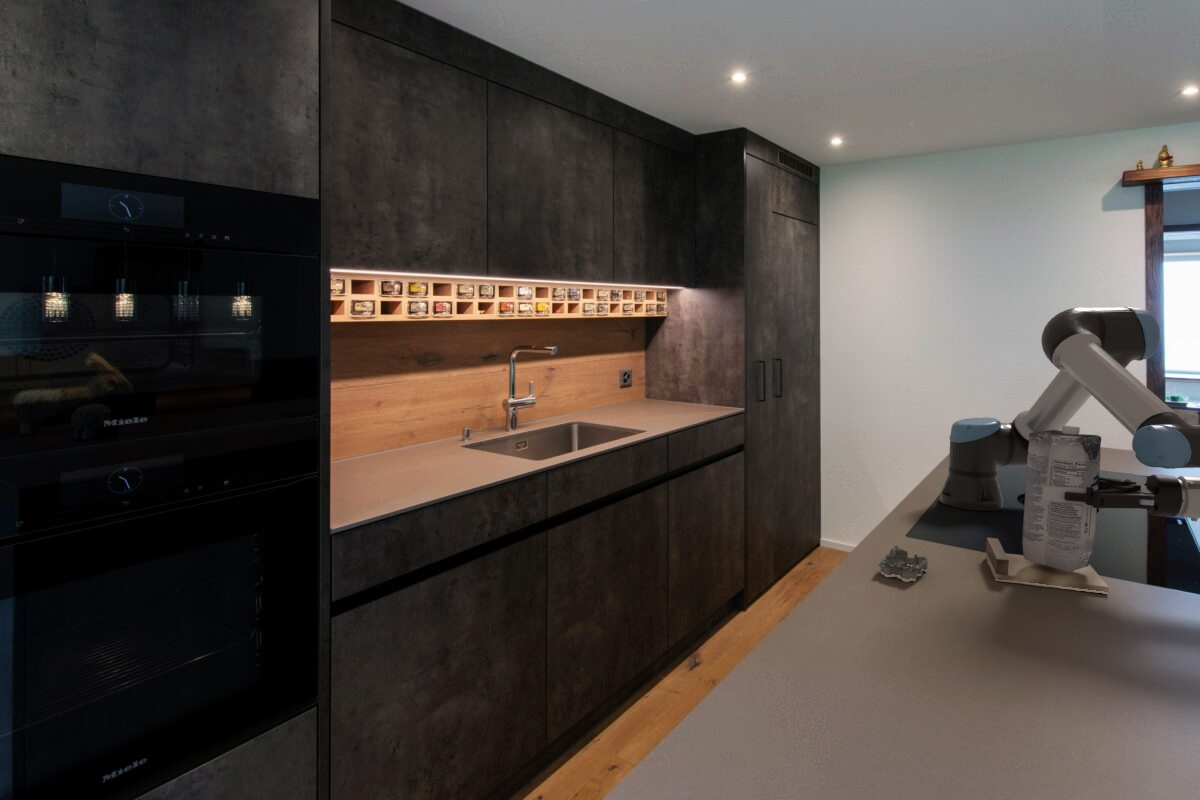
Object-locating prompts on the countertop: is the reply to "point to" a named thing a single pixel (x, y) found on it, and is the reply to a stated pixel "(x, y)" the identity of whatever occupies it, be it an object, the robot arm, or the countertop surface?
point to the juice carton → (1058, 526)
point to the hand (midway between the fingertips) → (1036, 486)
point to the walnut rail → (997, 556)
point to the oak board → (1050, 574)
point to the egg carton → (903, 564)
